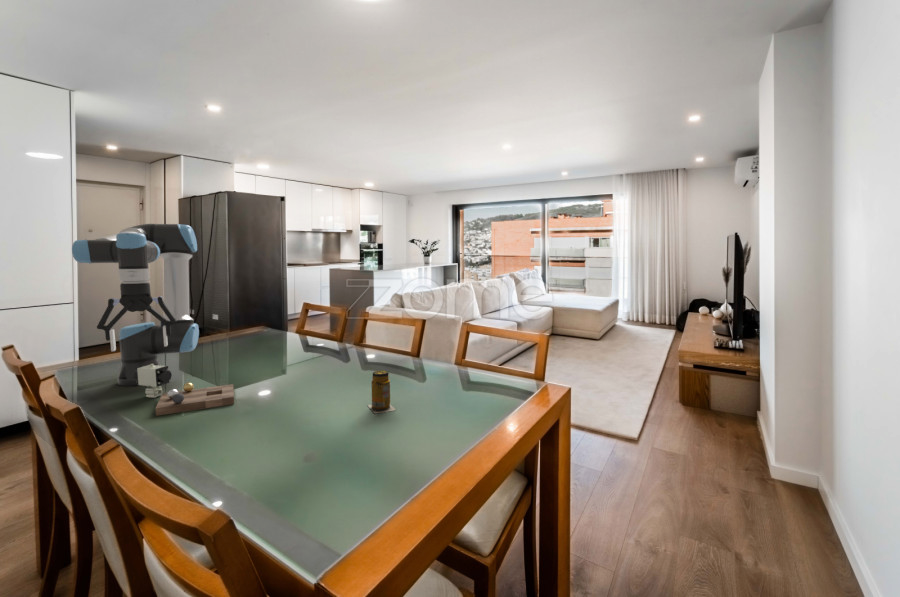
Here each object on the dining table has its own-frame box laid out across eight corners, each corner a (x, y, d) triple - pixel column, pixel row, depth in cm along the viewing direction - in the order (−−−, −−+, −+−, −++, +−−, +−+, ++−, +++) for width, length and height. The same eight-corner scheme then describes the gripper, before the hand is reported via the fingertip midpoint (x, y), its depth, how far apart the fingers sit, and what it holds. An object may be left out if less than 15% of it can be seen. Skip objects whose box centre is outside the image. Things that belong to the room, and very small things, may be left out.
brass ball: (183, 391, 147) (183, 382, 146) (194, 389, 148) (193, 381, 148) (183, 393, 144) (182, 384, 143) (193, 392, 145) (193, 383, 145)
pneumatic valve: (162, 399, 145) (159, 366, 144) (134, 397, 147) (132, 364, 146) (175, 394, 150) (173, 362, 149) (149, 392, 153) (146, 361, 151)
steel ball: (168, 397, 139) (167, 388, 139) (179, 396, 141) (178, 387, 141) (167, 400, 137) (166, 391, 136) (178, 399, 138) (177, 389, 138)
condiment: (388, 402, 142) (387, 368, 141) (396, 410, 134) (395, 374, 133) (367, 405, 139) (366, 371, 137) (374, 414, 131) (373, 377, 130)
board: (162, 400, 144) (162, 393, 144) (233, 390, 155) (233, 384, 154) (155, 415, 130) (155, 408, 130) (234, 403, 141) (233, 396, 140)
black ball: (173, 402, 135) (172, 392, 135) (184, 400, 137) (184, 391, 136) (172, 405, 132) (171, 395, 132) (183, 403, 134) (183, 394, 133)
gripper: (80, 284, 121) (86, 355, 123) (181, 281, 133) (185, 345, 135) (86, 282, 127) (93, 350, 129) (182, 280, 139) (186, 341, 142)
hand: (140, 348), depth 132 cm, fingers open, 13 cm apart
